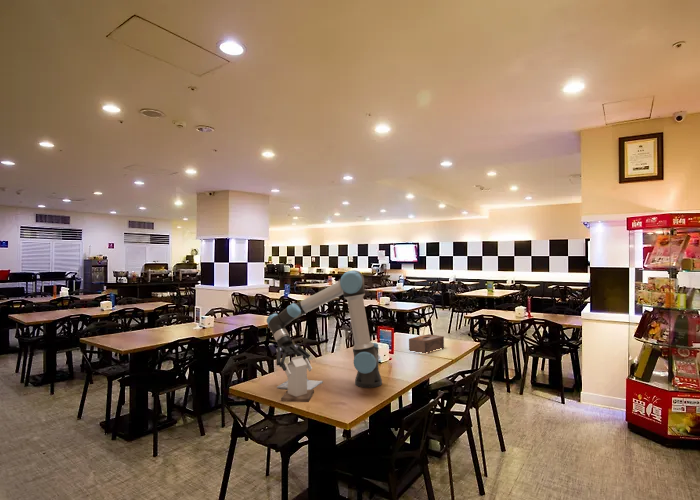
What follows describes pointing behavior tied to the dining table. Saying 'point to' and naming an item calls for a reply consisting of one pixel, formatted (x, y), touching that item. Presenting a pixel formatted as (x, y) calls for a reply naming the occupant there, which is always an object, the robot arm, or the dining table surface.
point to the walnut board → (297, 399)
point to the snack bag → (310, 384)
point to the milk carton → (297, 376)
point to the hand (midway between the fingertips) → (300, 372)
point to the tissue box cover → (426, 343)
